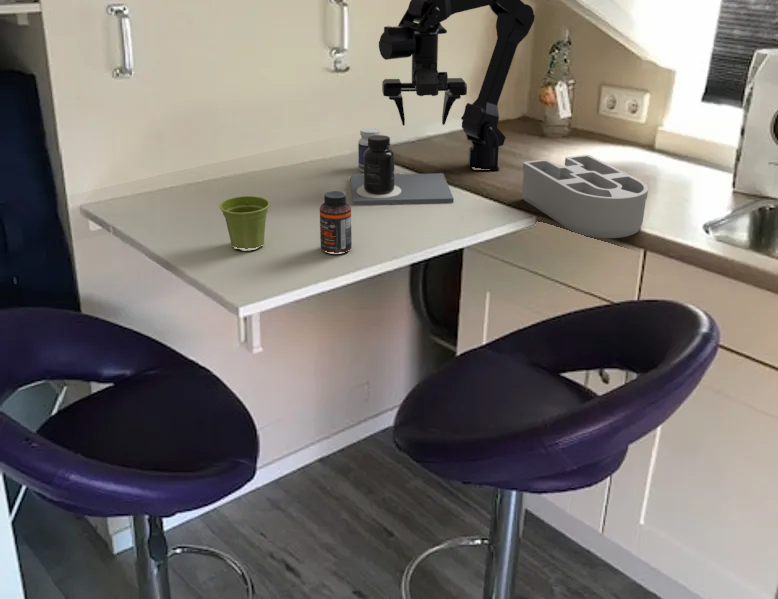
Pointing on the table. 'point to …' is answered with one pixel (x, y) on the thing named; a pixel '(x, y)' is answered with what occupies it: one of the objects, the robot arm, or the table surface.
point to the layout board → (405, 190)
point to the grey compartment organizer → (586, 196)
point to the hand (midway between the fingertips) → (423, 124)
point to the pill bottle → (365, 144)
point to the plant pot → (245, 220)
